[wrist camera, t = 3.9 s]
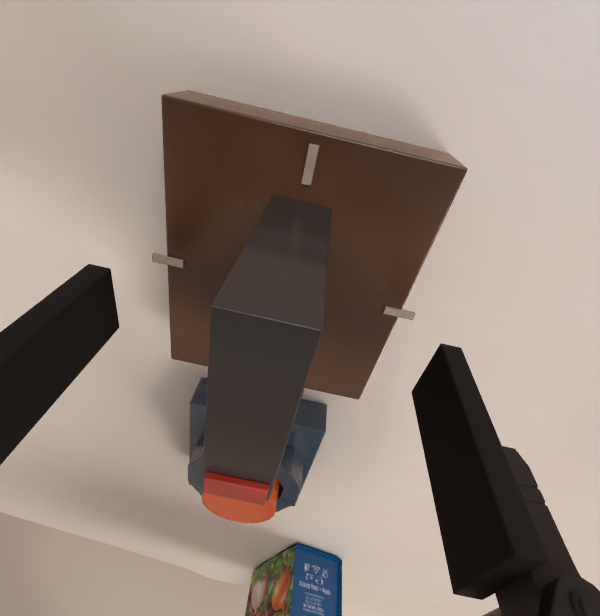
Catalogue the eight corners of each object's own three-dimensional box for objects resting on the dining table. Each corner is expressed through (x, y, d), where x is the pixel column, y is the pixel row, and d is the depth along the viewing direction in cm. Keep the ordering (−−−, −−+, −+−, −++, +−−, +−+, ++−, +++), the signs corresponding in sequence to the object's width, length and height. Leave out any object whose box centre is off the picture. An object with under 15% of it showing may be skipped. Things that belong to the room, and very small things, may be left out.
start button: (211, 454, 23) (202, 480, 21) (284, 469, 23) (281, 496, 21) (208, 489, 25) (200, 514, 24) (273, 503, 26) (269, 528, 24)
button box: (201, 377, 24) (178, 426, 20) (327, 404, 24) (324, 457, 21) (198, 459, 30) (180, 507, 27) (297, 480, 30) (291, 530, 27)
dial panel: (173, 86, 14) (140, 90, 11) (465, 157, 14) (486, 173, 12) (177, 329, 21) (159, 358, 19) (366, 370, 22) (369, 404, 19)
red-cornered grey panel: (272, 195, 13) (207, 312, 7) (332, 209, 13) (321, 337, 7) (249, 344, 18) (198, 494, 12) (294, 353, 18) (267, 509, 12)
